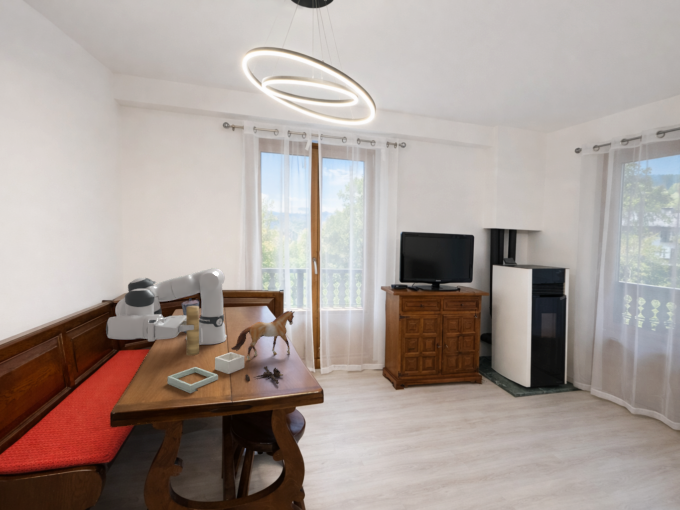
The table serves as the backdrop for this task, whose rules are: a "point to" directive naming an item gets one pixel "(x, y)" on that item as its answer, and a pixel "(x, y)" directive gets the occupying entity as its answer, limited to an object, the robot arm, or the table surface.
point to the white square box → (229, 362)
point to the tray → (191, 388)
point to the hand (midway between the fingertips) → (195, 325)
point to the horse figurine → (266, 332)
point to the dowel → (192, 335)
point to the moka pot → (189, 303)
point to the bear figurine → (268, 375)
